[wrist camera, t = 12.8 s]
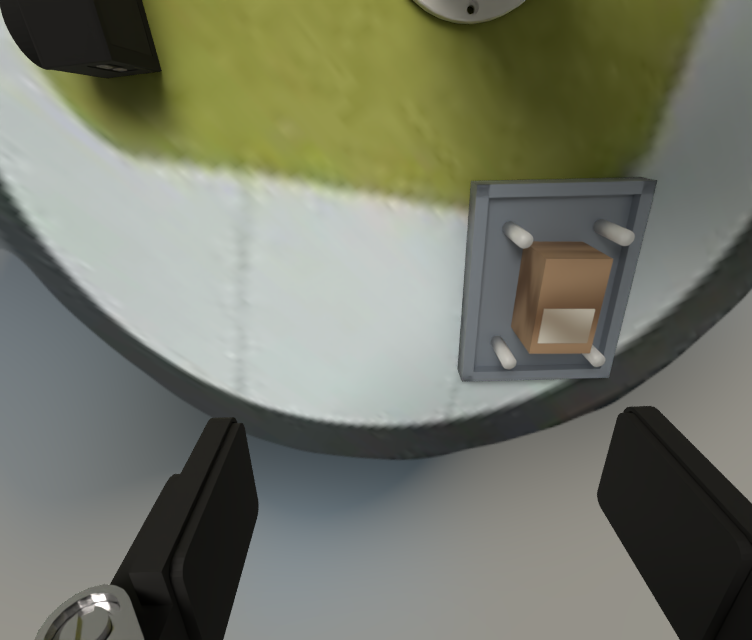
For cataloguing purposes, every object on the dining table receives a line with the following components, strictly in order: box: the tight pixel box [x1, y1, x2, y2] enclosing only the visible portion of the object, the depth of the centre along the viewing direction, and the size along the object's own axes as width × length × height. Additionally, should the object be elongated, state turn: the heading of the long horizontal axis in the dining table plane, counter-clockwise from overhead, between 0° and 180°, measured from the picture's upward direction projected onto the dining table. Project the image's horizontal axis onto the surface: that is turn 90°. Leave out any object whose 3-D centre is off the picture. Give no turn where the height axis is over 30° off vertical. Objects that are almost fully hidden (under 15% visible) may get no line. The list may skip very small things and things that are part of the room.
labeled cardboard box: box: [511, 241, 613, 354], centre depth 36 cm, size 8×5×5 cm, turn 0°
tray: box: [458, 177, 657, 381], centre depth 37 cm, size 18×14×5 cm
